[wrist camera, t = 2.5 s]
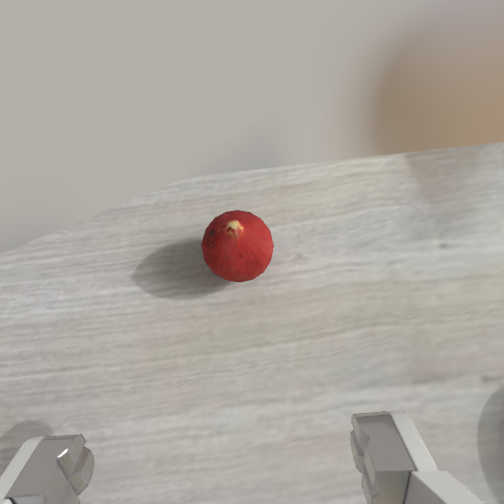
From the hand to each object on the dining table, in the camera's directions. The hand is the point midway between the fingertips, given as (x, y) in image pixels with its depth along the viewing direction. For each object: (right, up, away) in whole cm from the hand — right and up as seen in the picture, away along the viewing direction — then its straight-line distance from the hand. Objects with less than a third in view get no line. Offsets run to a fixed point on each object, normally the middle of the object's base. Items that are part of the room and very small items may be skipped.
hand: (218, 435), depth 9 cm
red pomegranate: (0, +5, +20) cm, 20 cm away
